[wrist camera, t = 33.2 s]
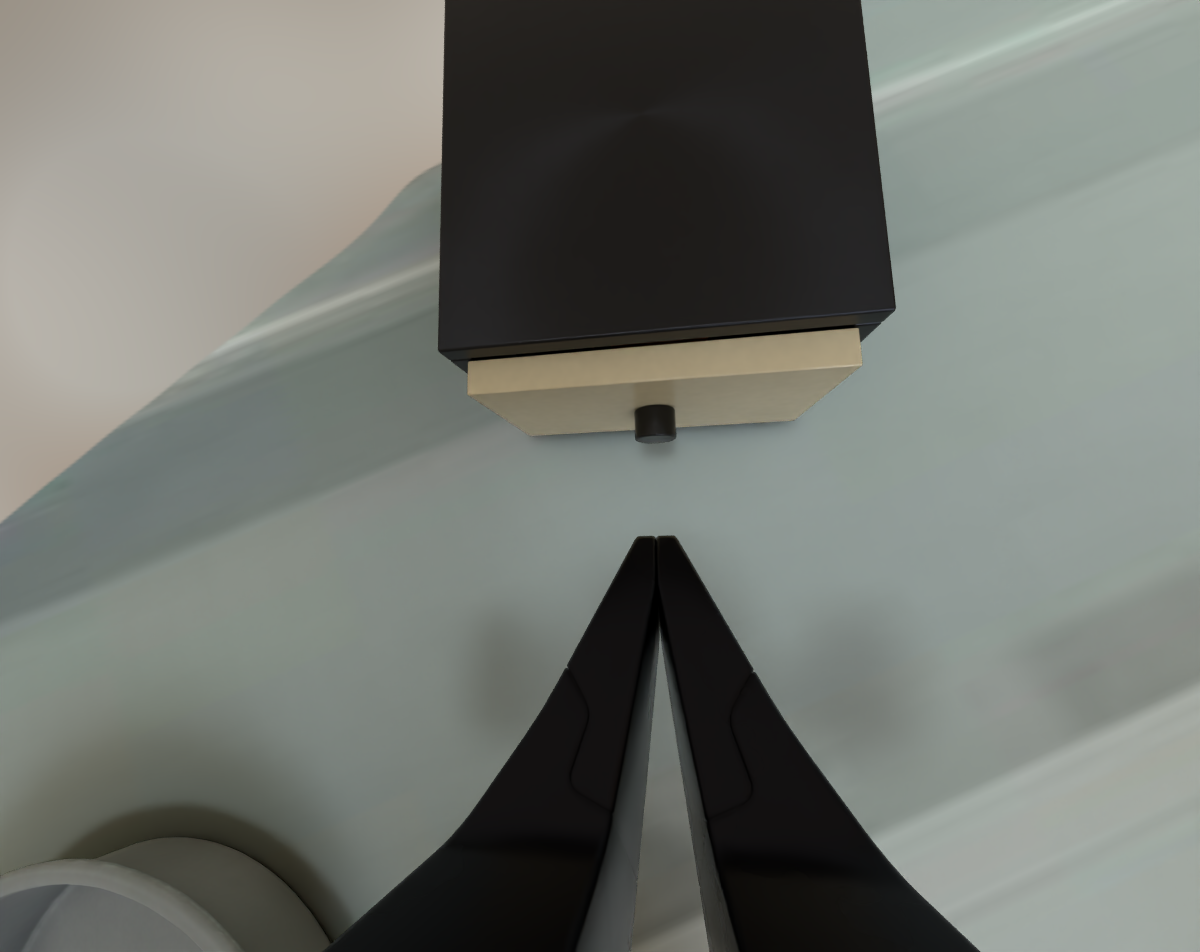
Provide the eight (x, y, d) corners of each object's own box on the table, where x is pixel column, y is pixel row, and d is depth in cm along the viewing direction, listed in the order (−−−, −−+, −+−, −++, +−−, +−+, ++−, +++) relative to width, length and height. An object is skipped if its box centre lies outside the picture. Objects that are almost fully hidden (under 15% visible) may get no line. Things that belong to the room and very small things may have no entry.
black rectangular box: (800, 399, 20) (897, 309, 12) (523, 417, 22) (436, 351, 14) (777, 123, 22) (847, -128, 14) (522, 163, 24) (444, -35, 15)
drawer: (796, 446, 19) (867, 404, 12) (529, 460, 21) (466, 430, 14) (772, 150, 21) (823, -26, 14) (527, 186, 23) (470, 45, 16)
